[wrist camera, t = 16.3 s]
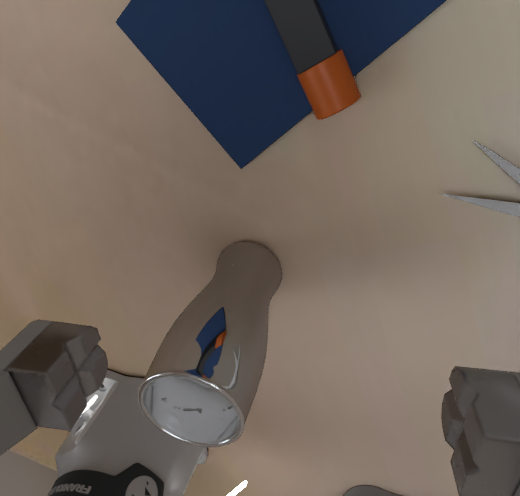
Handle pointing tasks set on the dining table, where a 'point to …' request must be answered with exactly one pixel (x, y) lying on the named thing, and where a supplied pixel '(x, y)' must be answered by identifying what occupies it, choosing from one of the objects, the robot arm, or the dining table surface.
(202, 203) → the dining table surface
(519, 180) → the scissors
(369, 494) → the lumpy-topped squat cylinder
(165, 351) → the beer glass
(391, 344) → the dining table surface
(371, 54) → the mat
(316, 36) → the marker
